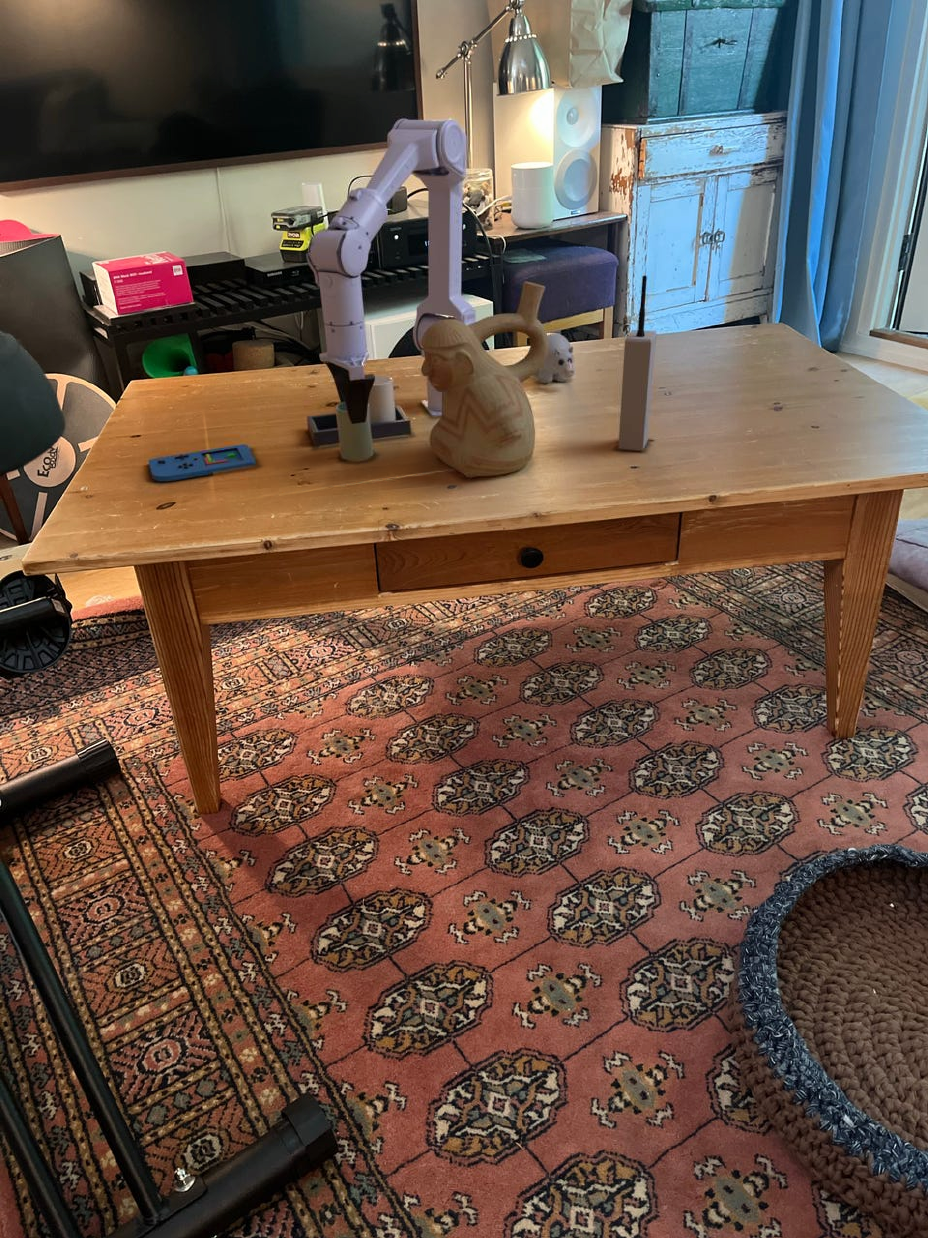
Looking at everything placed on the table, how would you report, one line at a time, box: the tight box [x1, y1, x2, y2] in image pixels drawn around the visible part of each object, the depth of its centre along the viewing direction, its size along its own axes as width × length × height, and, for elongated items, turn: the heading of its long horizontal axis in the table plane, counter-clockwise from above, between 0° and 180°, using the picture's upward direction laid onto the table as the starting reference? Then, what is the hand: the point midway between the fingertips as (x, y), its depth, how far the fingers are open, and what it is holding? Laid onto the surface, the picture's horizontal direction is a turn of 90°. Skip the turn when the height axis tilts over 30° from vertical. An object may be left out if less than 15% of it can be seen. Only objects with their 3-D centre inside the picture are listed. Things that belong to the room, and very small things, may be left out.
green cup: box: [334, 402, 374, 461], centre depth 136 cm, size 5×5×8 cm
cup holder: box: [306, 404, 412, 447], centre depth 146 cm, size 15×8×3 cm, turn 106°
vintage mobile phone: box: [618, 274, 657, 452], centre depth 132 cm, size 4×5×25 cm
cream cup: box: [368, 375, 396, 424], centre depth 145 cm, size 5×5×8 cm
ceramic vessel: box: [420, 281, 549, 479], centre depth 128 cm, size 17×20×25 cm
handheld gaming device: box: [148, 443, 257, 482], centre depth 137 cm, size 8×1×15 cm
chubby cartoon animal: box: [532, 332, 576, 384], centre depth 163 cm, size 7×12×8 cm, turn 16°
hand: (353, 414), depth 135 cm, fingers open, 7 cm apart
